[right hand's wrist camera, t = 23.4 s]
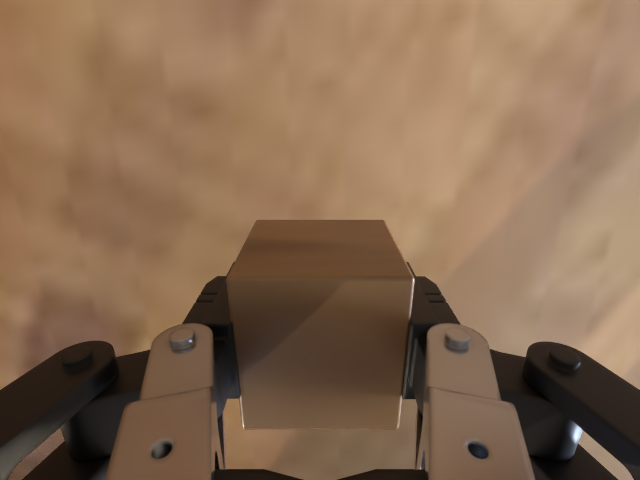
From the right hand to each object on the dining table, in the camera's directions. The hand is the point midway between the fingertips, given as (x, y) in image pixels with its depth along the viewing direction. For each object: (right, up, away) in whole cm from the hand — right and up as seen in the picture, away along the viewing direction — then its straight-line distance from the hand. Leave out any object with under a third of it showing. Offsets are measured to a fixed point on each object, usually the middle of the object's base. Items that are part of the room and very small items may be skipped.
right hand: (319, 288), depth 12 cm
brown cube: (0, 0, 0) cm, 0 cm away
